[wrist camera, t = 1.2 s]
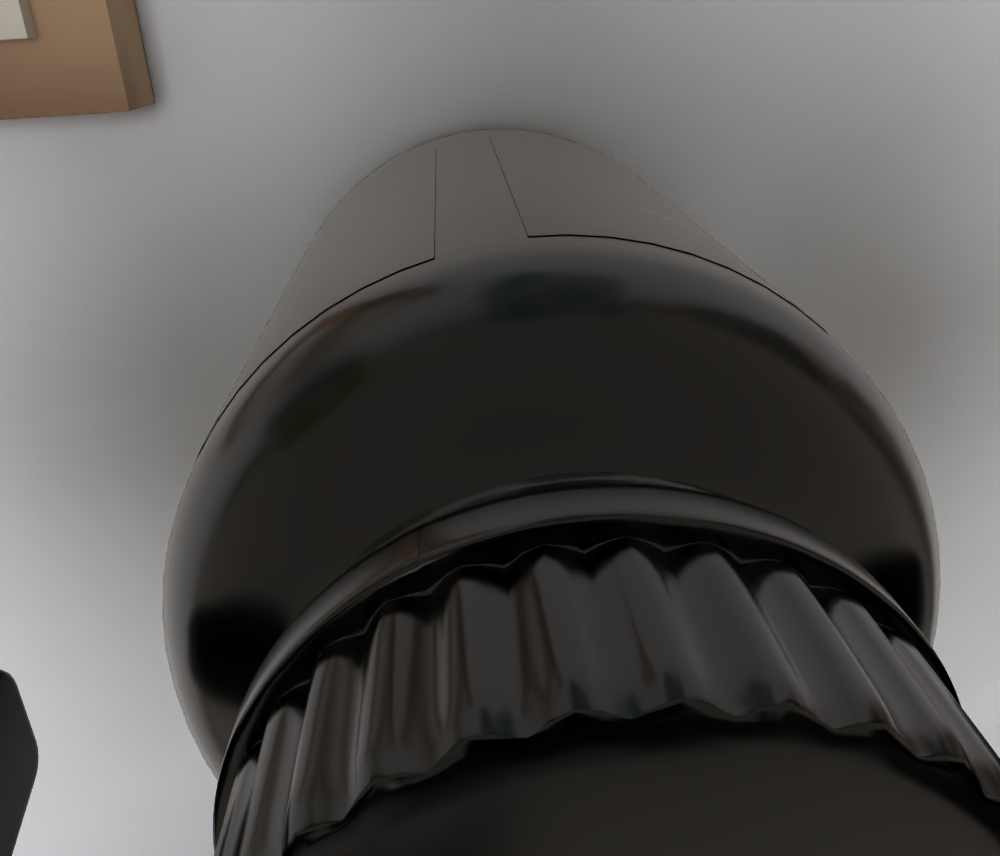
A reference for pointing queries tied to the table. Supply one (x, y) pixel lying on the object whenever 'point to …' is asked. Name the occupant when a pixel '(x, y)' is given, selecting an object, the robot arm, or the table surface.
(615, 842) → the supplement bottle
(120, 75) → the picture frame
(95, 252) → the table surface
